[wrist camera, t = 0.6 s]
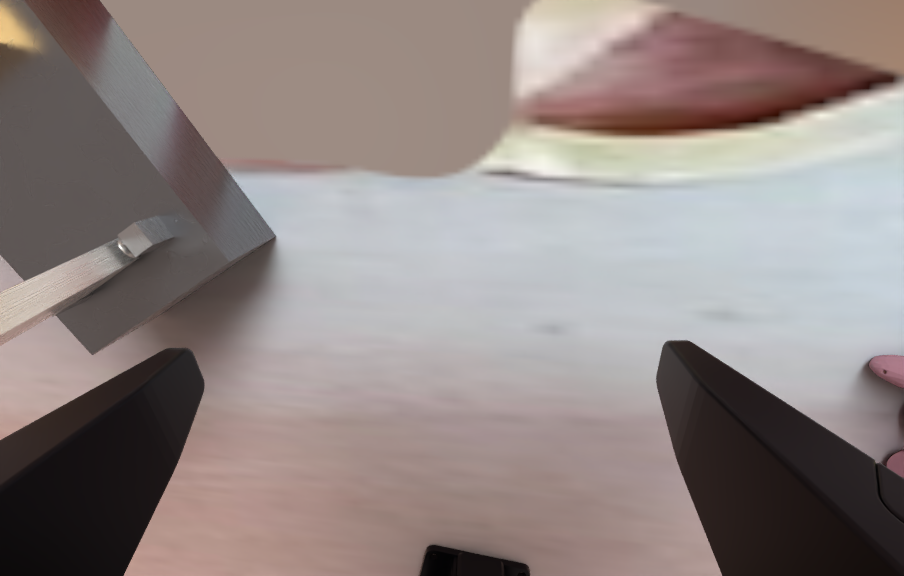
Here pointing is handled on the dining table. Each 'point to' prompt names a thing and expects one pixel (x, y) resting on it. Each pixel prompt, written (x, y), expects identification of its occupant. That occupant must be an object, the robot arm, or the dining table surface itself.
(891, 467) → the pink curved piece
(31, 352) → the dining table surface
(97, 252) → the light grey flat bar
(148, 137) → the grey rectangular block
